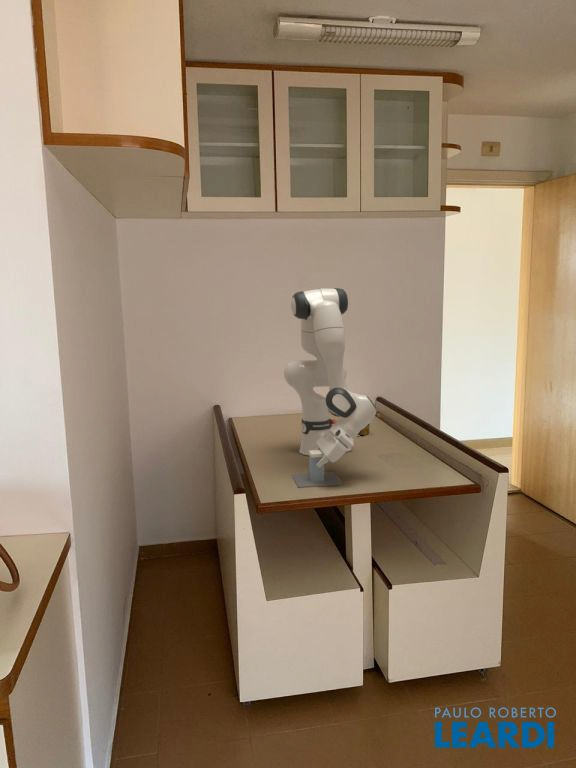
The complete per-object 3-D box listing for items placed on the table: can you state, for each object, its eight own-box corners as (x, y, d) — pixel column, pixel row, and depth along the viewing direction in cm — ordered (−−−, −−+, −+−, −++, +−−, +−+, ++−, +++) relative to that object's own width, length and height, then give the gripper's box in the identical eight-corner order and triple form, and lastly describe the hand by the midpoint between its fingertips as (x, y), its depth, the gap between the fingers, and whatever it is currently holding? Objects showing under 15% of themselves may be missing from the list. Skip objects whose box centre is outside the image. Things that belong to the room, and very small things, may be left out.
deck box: (321, 476, 215) (321, 449, 213) (324, 480, 210) (324, 453, 208) (309, 477, 214) (308, 450, 212) (311, 481, 209) (311, 454, 207)
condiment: (372, 434, 276) (373, 409, 274) (357, 437, 272) (357, 411, 270) (364, 431, 283) (364, 407, 281) (349, 433, 279) (349, 409, 277)
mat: (334, 472, 220) (334, 471, 220) (343, 484, 206) (343, 483, 206) (291, 475, 217) (291, 474, 217) (298, 487, 204) (298, 486, 204)
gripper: (329, 422, 220) (303, 448, 220) (341, 435, 200) (314, 464, 200) (340, 433, 221) (315, 459, 221) (354, 447, 201) (326, 476, 201)
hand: (314, 462), depth 211 cm, fingers open, 8 cm apart
